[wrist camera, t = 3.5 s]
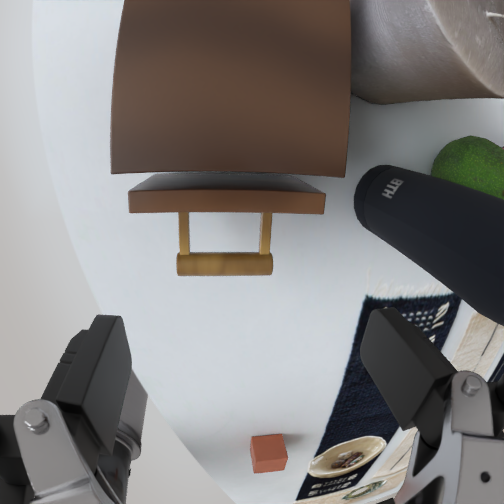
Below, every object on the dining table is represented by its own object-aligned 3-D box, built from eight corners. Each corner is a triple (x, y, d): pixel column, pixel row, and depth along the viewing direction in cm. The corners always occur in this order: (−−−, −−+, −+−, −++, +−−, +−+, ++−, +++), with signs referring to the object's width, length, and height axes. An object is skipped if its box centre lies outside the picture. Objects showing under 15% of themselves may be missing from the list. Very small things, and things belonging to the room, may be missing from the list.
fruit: (468, 196, 26) (550, 231, 15) (420, 219, 26) (508, 268, 15) (458, 127, 23) (550, 141, 11) (406, 142, 23) (509, 160, 12)
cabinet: (297, 162, 22) (345, 178, 14) (149, 160, 21) (110, 174, 13) (303, 11, 17) (347, -39, 9) (160, 4, 16) (137, -53, 8)
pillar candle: (428, 71, 20) (555, 62, 6) (371, 125, 22) (517, 137, 8) (365, -7, 17) (470, -71, 3) (294, 39, 18) (394, -55, 5)
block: (250, 450, 37) (253, 473, 33) (251, 436, 35) (255, 461, 31) (278, 447, 37) (283, 470, 33) (282, 433, 36) (288, 457, 32)
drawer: (286, 248, 24) (313, 291, 17) (157, 248, 23) (137, 294, 16) (299, 38, 18) (334, 3, 11) (161, 33, 16) (141, -8, 10)
